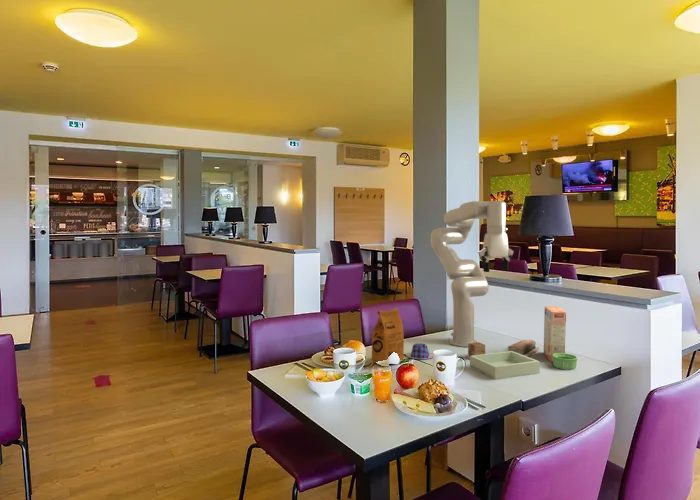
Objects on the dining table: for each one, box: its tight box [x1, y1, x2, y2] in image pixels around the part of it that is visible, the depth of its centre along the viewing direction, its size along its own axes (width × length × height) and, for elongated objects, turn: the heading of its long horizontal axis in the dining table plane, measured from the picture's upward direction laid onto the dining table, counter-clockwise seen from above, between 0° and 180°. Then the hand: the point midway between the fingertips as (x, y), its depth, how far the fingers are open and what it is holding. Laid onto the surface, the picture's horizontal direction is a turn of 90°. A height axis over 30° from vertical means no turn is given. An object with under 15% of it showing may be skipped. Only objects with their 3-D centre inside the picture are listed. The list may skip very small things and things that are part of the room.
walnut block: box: [467, 341, 486, 359], centre depth 199 cm, size 5×5×6 cm
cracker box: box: [543, 305, 567, 363], centre depth 198 cm, size 14×6×21 cm, turn 168°
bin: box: [469, 350, 541, 380], centre depth 182 cm, size 16×20×4 cm
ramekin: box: [552, 352, 578, 371], centre depth 186 cm, size 9×9×4 cm
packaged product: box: [507, 339, 542, 358], centre depth 207 cm, size 18×5×10 cm
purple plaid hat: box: [405, 342, 433, 360], centre depth 203 cm, size 12×12×5 cm
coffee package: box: [371, 307, 405, 364], centre depth 193 cm, size 10×12×22 cm
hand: (495, 271), depth 198 cm, fingers open, 9 cm apart
